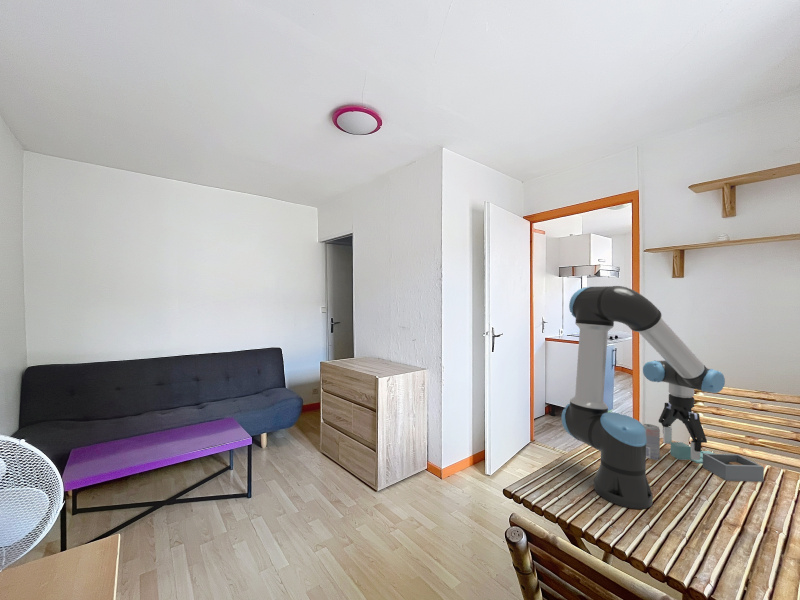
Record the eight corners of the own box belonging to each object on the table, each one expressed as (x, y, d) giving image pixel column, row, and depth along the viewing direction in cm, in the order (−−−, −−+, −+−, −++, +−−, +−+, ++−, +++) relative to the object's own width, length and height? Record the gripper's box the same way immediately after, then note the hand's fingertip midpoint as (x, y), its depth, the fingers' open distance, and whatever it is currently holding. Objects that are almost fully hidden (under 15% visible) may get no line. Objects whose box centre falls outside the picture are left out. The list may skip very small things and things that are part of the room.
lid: (684, 464, 124) (684, 449, 124) (665, 453, 134) (665, 439, 134) (731, 466, 124) (732, 451, 124) (709, 454, 133) (709, 440, 133)
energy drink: (653, 454, 132) (654, 424, 132) (662, 461, 127) (663, 429, 127) (639, 454, 132) (639, 423, 132) (647, 460, 127) (647, 428, 127)
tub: (725, 482, 112) (725, 465, 112) (702, 468, 121) (702, 453, 121) (763, 483, 112) (763, 466, 112) (737, 469, 121) (737, 454, 121)
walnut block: (738, 475, 116) (738, 466, 116) (728, 471, 119) (728, 462, 119) (745, 474, 116) (745, 465, 116) (734, 470, 119) (735, 461, 119)
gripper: (721, 405, 116) (720, 467, 116) (667, 386, 141) (666, 437, 141) (698, 405, 117) (697, 466, 117) (648, 386, 142) (648, 437, 142)
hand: (680, 451), depth 129 cm, fingers open, 13 cm apart
